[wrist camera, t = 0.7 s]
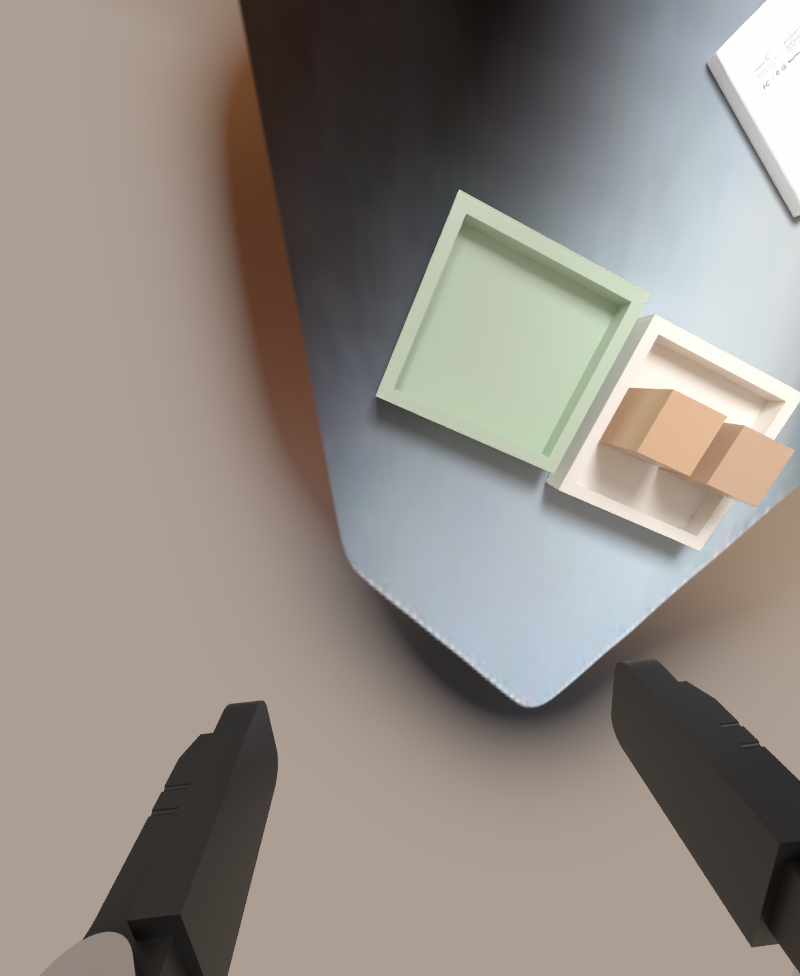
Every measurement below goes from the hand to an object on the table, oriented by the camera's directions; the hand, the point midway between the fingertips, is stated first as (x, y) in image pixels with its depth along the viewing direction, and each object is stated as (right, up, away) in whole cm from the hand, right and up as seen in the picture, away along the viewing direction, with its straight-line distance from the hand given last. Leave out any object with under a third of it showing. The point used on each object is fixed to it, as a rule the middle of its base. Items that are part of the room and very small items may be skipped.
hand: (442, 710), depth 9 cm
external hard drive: (+27, +32, +19) cm, 46 cm away
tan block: (+23, +8, +23) cm, 34 cm away
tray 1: (+7, +16, +21) cm, 27 cm away
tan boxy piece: (+18, +10, +22) cm, 30 cm away
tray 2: (+21, +9, +24) cm, 33 cm away
